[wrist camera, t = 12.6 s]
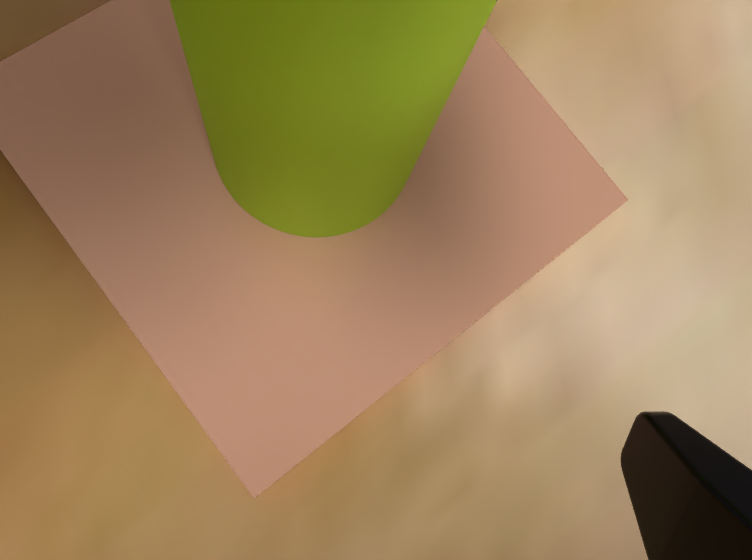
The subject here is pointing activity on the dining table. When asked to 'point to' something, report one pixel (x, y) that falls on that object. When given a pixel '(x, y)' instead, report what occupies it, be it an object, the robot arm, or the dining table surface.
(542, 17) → the dining table surface
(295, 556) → the dining table surface
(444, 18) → the soap dispenser
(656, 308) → the dining table surface
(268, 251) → the terracotta tile
